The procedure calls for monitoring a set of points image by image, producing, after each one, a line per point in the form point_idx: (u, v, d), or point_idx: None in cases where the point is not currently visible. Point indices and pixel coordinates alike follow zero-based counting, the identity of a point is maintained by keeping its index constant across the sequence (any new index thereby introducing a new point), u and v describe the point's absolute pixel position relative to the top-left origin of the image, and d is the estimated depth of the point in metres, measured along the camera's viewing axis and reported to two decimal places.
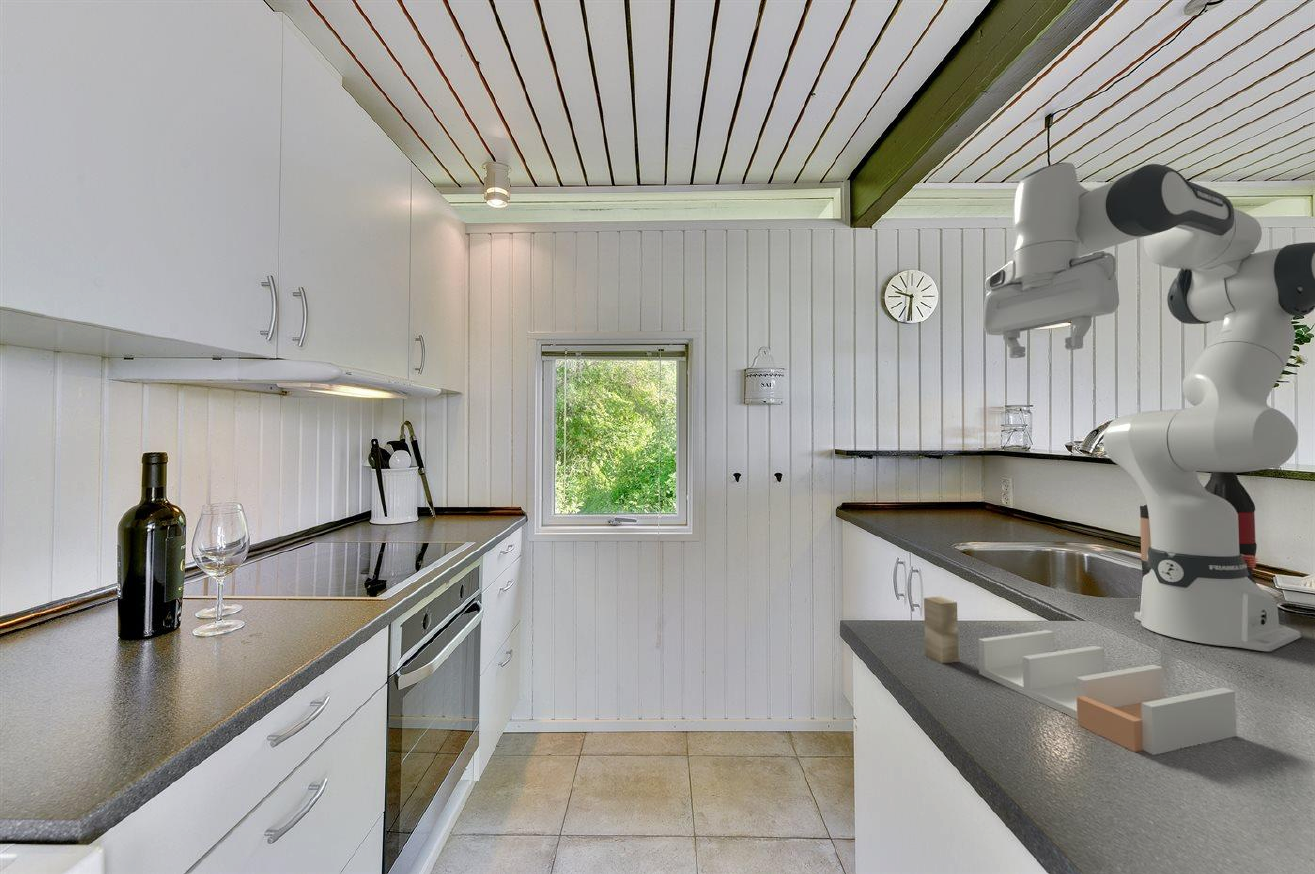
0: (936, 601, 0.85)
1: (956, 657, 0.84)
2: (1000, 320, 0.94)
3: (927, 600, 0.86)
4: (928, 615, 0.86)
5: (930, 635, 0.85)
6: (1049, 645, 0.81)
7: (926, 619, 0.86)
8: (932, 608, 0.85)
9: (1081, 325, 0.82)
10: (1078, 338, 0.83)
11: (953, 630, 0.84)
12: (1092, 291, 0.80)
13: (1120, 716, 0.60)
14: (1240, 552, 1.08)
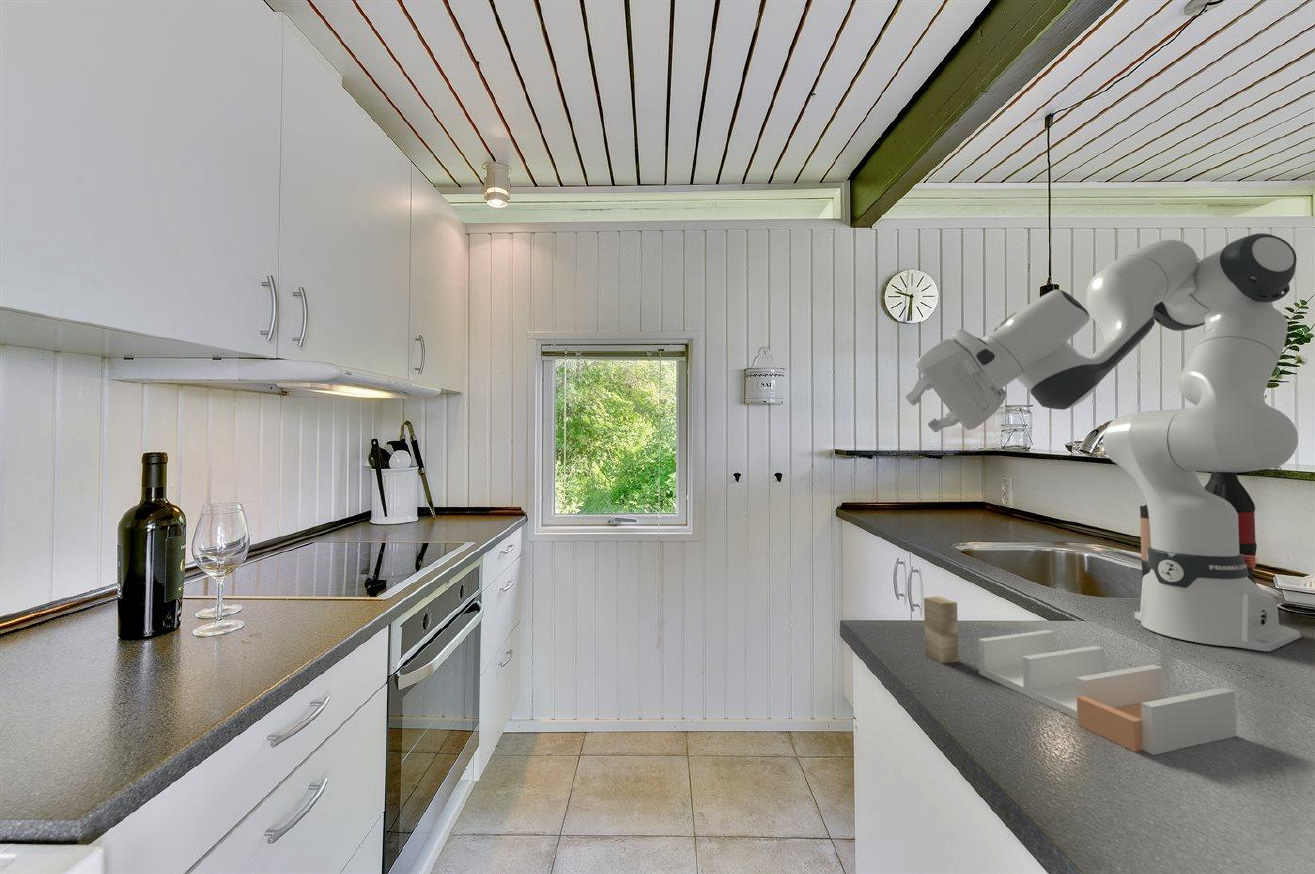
0: (936, 601, 0.85)
1: (956, 657, 0.84)
2: (942, 377, 0.94)
3: (927, 600, 0.86)
4: (928, 615, 0.86)
5: (930, 635, 0.85)
6: (1049, 645, 0.81)
7: (926, 619, 0.86)
8: (932, 608, 0.85)
9: None
10: None
11: (953, 630, 0.84)
12: (981, 419, 1.01)
13: (1120, 716, 0.60)
14: (1240, 552, 1.08)
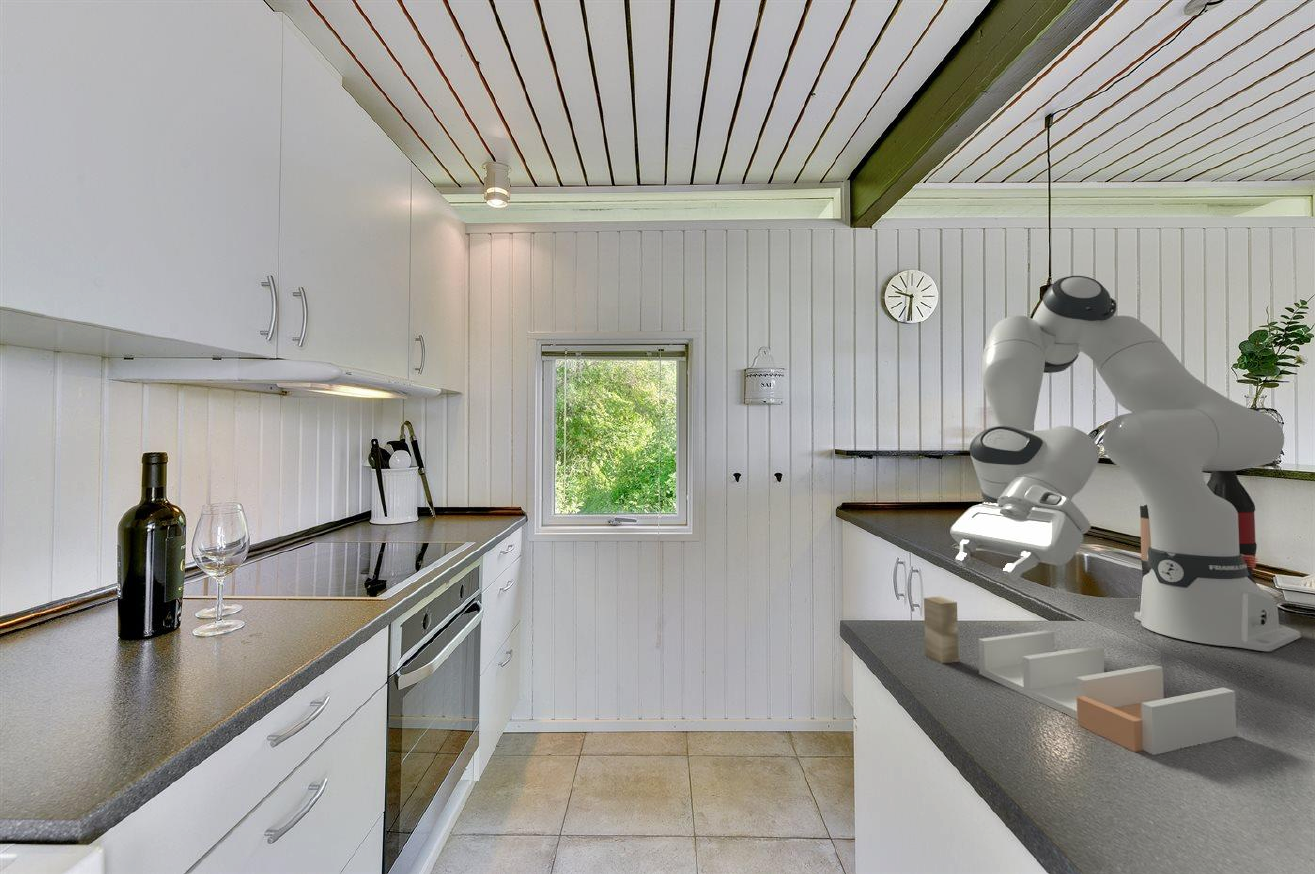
0: (936, 601, 0.85)
1: (956, 657, 0.84)
2: None
3: (927, 600, 0.86)
4: (928, 615, 0.86)
5: (930, 635, 0.85)
6: (1049, 645, 0.81)
7: (926, 619, 0.86)
8: (932, 608, 0.85)
9: None
10: None
11: (953, 630, 0.84)
12: None
13: (1120, 716, 0.60)
14: (1240, 552, 1.08)
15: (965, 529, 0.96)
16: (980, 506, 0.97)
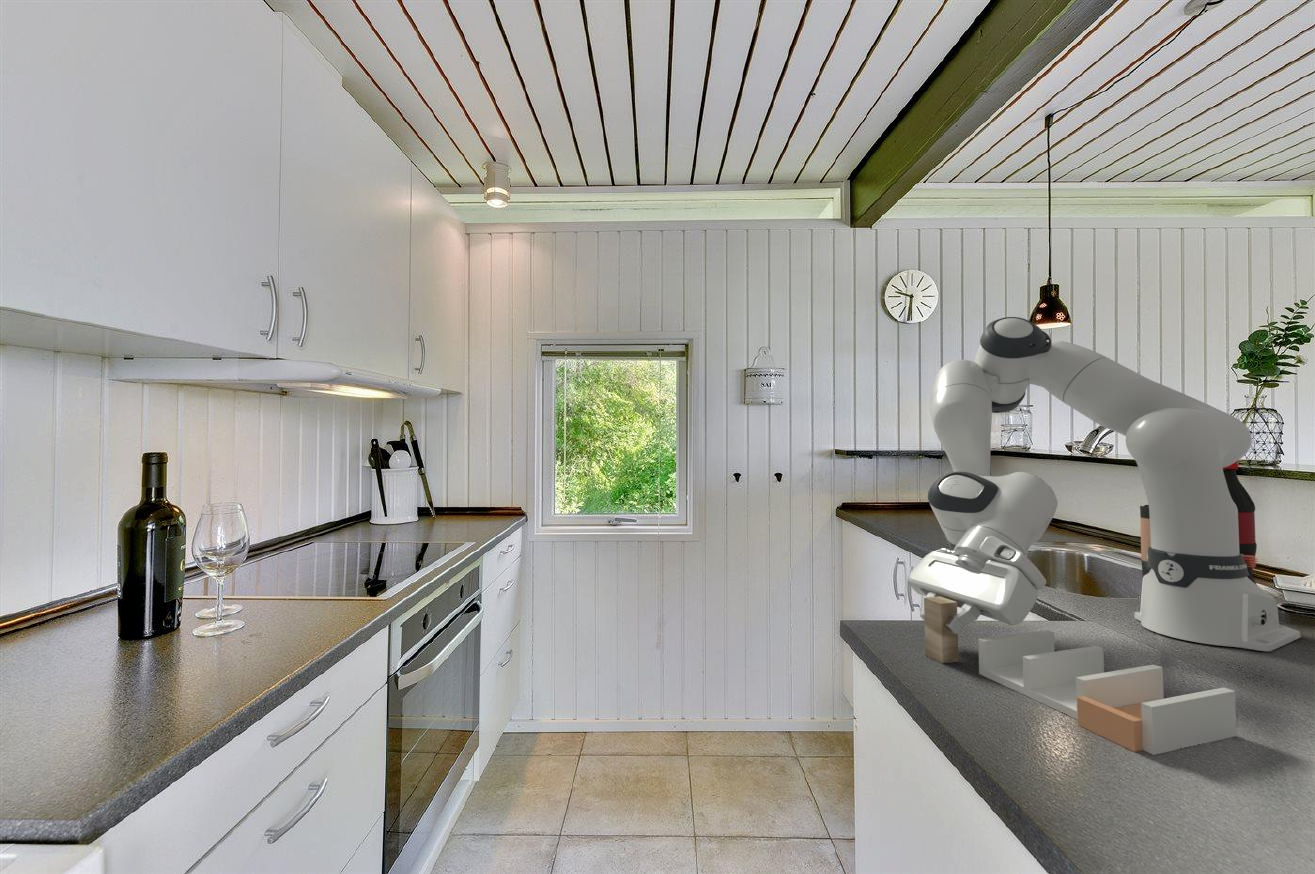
0: (936, 601, 0.85)
1: (956, 657, 0.84)
2: None
3: (927, 600, 0.86)
4: (928, 615, 0.86)
5: (930, 635, 0.85)
6: (1049, 645, 0.81)
7: (926, 619, 0.86)
8: (931, 608, 0.85)
9: None
10: None
11: None
12: None
13: (1120, 716, 0.60)
14: (1240, 552, 1.08)
15: (921, 578, 0.92)
16: (937, 553, 0.94)
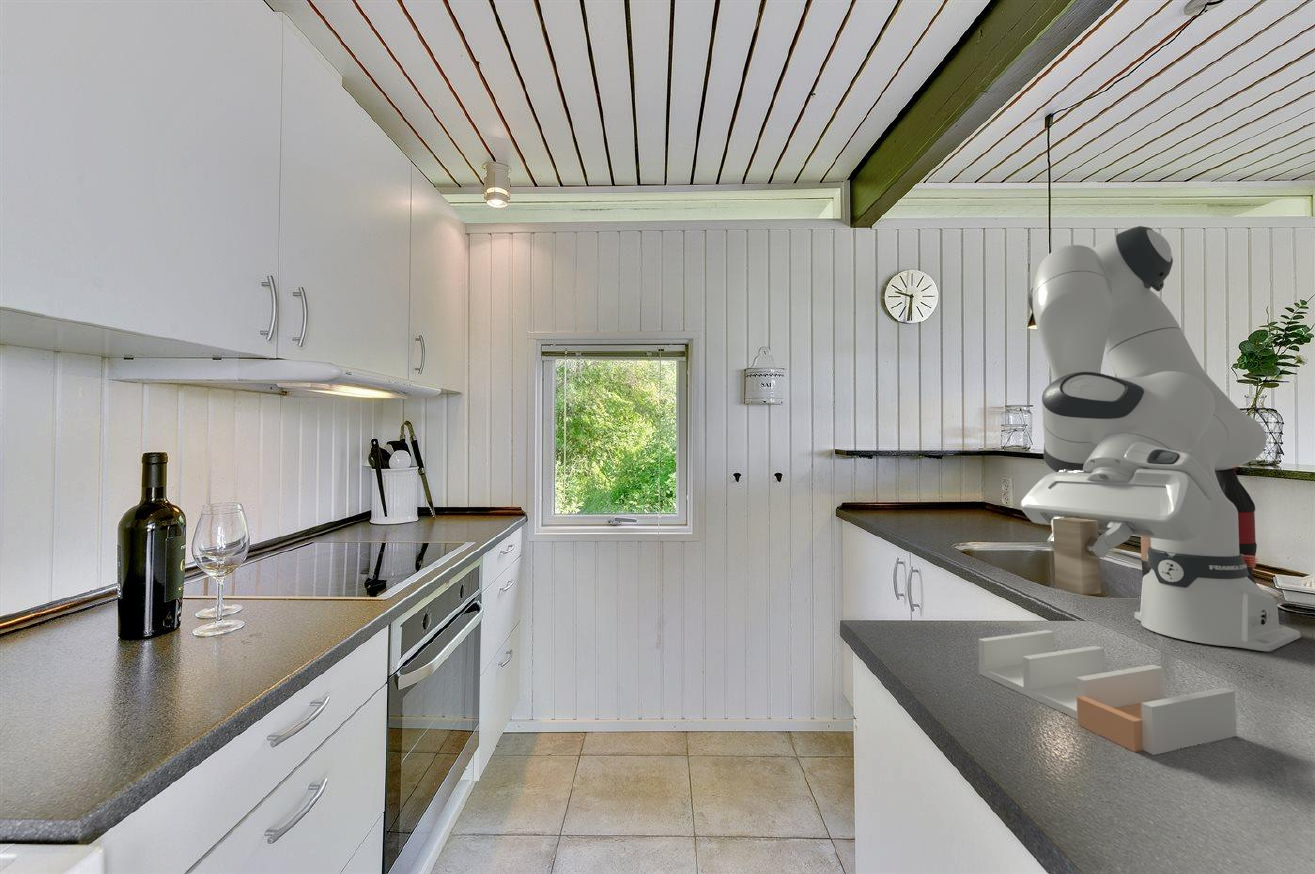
0: (1071, 520, 0.69)
1: (1098, 588, 0.68)
2: None
3: (1058, 521, 0.71)
4: (1060, 539, 0.70)
5: (1063, 563, 0.70)
6: (1049, 645, 0.81)
7: (1056, 544, 0.71)
8: (1065, 529, 0.70)
9: None
10: None
11: None
12: None
13: (1120, 716, 0.60)
14: (1240, 552, 1.08)
15: (1042, 502, 0.77)
16: (1058, 474, 0.79)
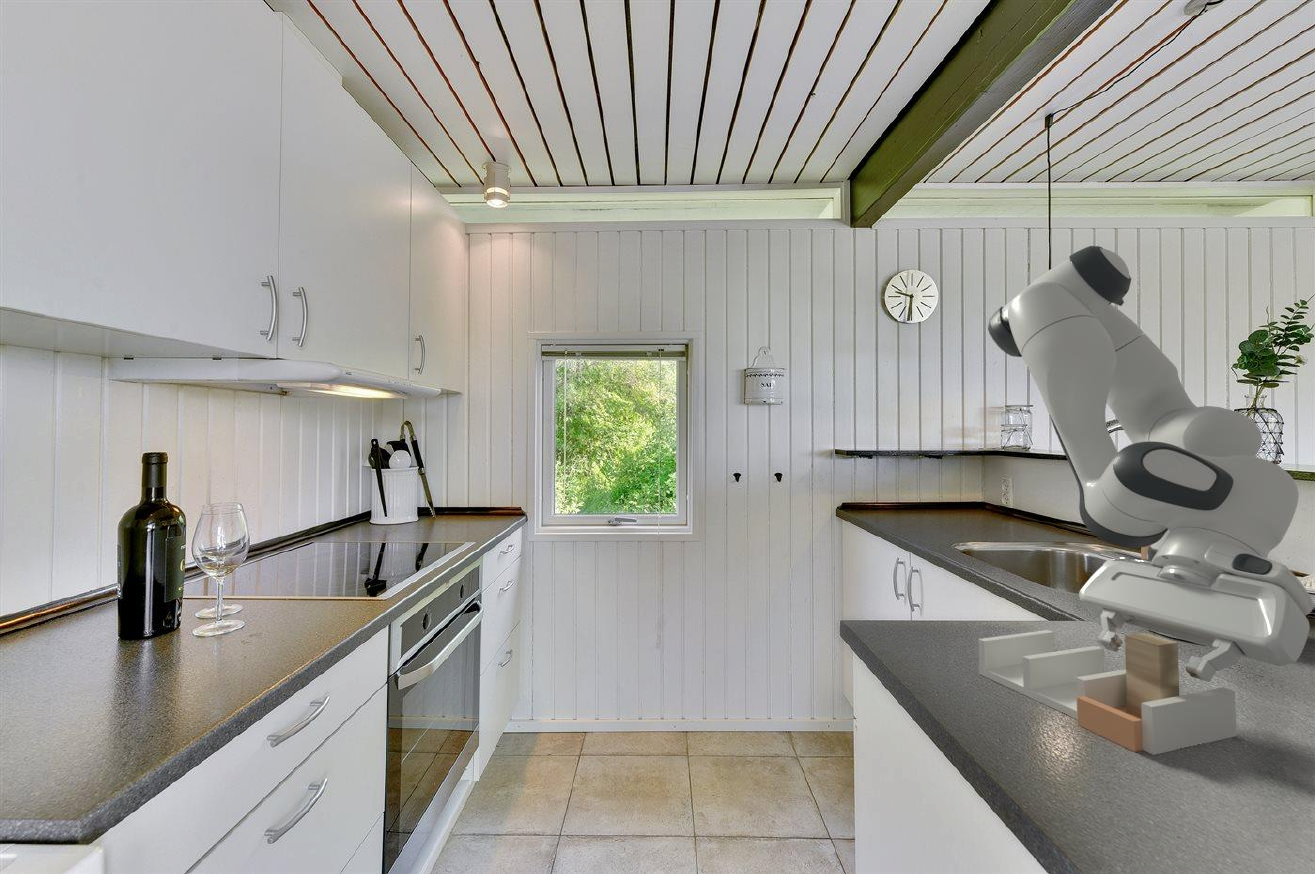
0: (1147, 641, 0.63)
1: None
2: None
3: (1131, 639, 0.64)
4: (1133, 659, 0.64)
5: (1137, 686, 0.64)
6: (1049, 645, 0.81)
7: (1128, 664, 0.65)
8: (1140, 649, 0.63)
9: None
10: None
11: (1173, 680, 0.62)
12: None
13: (1120, 716, 0.60)
14: None
15: (1105, 596, 0.71)
16: (1121, 563, 0.72)
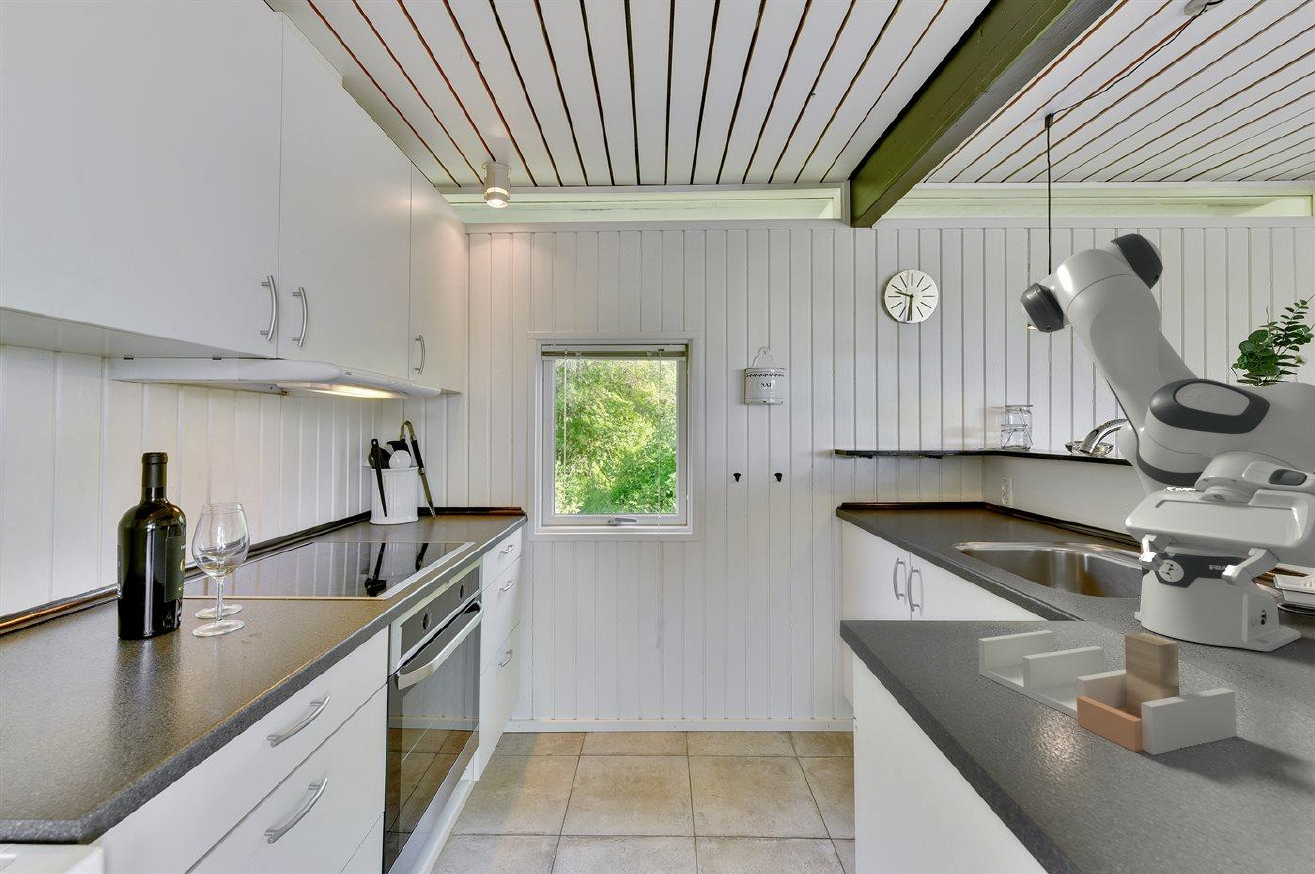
0: (1147, 641, 0.63)
1: None
2: None
3: (1131, 639, 0.64)
4: (1133, 659, 0.64)
5: (1137, 686, 0.64)
6: (1049, 645, 0.81)
7: (1128, 664, 0.65)
8: (1140, 649, 0.63)
9: None
10: None
11: (1173, 680, 0.62)
12: None
13: (1120, 716, 0.60)
14: None
15: (1148, 522, 0.74)
16: (1165, 492, 0.76)
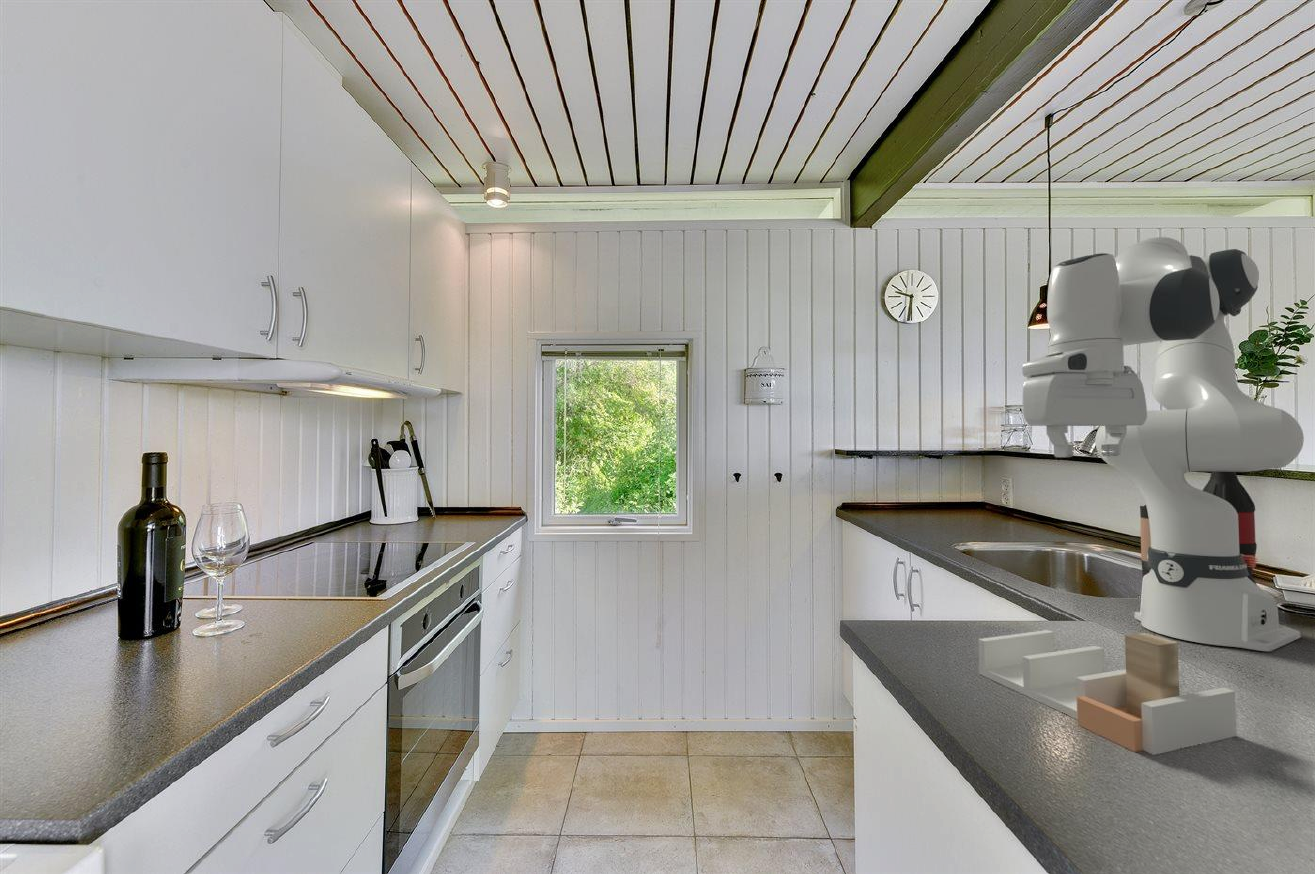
0: (1147, 641, 0.63)
1: None
2: (1065, 411, 0.78)
3: (1131, 639, 0.64)
4: (1133, 659, 0.64)
5: (1137, 686, 0.64)
6: (1049, 645, 0.81)
7: (1128, 664, 0.65)
8: (1140, 649, 0.63)
9: None
10: None
11: (1173, 680, 0.62)
12: (1141, 404, 0.82)
13: (1120, 716, 0.60)
14: (1240, 552, 1.08)
15: None
16: None
